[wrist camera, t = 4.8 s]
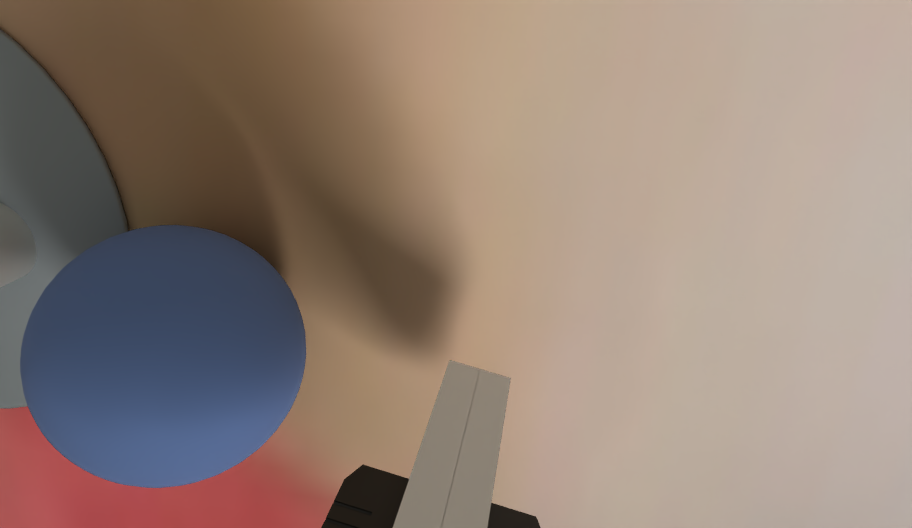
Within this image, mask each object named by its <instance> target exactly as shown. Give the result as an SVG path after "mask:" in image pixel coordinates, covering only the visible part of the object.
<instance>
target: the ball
mask: <svg viewBox="0 0 912 528" xmlns="http://www.w3.org/2000/svg"><path fill="white" fill-rule="evenodd" d="M305 359H306V340H305V329H304V324H303V320H302V316H301V313H300V310H299V307H298V305H297V302H296V300H295V298H294V296H293V294H292V292H291V290H290V288H289V287H288V285H287V284H286V282H285V281H284V279H283V278H282V277H281V275H280V274H279V273H278V272H277V271H276V269H275V268H274V267H273V266H272V265H271V264H270V263H269V262H268V261H266V260H265V259H264V258H263V257H262V256H261V255H259V254H258V253H257V252H255V251H254V250H253V249H251V248H250V247H248V246H246V245H245V244H243V243H241V242H240V241H238V240H236V239H233V238H231V237H229V236H227V235H224V234H221V233H218V232H215V231H213V230H208V229H204V228H199V227H192V226H182V225H160V226H151V227H145V228H139V229H134V230H131V231H128V232H125V233H122V234H119V235H116V236H113V237H110V238H108V239H106V240H104V241H102V242H100V243H98V244H96V245H94V246H92V247H91V248H89V249H87V250H85V251H84V252H83V253H81V254H80V255H79V256H77V257H76V258H75V259H73V260H72V261H71V262H70V263H68V264H67V265H66V266H65V267H64V268H63V269H62V270H61V271H60V272H59V273H58V274H57V275H56V276H55V277H54V279H53V280H52V281H51V282H50V283H49V284H48V286H47V287H46V288H45V290H44V291H43V293H42V294H41V296H40V298H39V299H38V301H37V303H36V305H35V306H34V308H33V310H32V312H31V315H30V317H29V320H28V323H27V326H26V329H25V332H24V335H23V341H22V346H21V357H20V373H21V380H22V386H23V392H24V396H25V399H26V403H27V405H28V408H29V410H30V412H31V414H32V416H33V418H34V420H35V422H36V424H37V426H38V427H39V429H40V431H41V432H42V433H43V435H44V436H45V437H46V439H47V440H48V441H49V442H50V443H51V444H52V445H53V447H54V448H55V449H56V450H57V451H59V452H60V453H61V454H62V455H63V456H64V457H66V458H67V459H68V460H70V461H71V462H72V463H74V464H75V465H77V466H78V467H80V468H82V469H83V470H85V471H87V472H89V473H91V474H93V475H95V476H98V477H100V478H103V479H105V480H108V481H111V482H115V483H119V484H123V485H129V486H138V487H146V488H162V487H173V486H181V485H186V484H191V483H195V482H198V481H201V480H204V479H207V478H210V477H213V476H216V475H218V474H220V473H222V472H224V471H226V470H228V469H230V468H231V467H233V466H235V465H237V464H239V463H240V462H242V461H243V460H245V459H246V458H247V457H249V456H250V455H251V454H253V453H254V452H255V451H256V450H258V449H259V448H260V447H261V446H262V445H263V444H264V443H265V442H266V441H267V440H268V439H269V438H270V437H271V436H272V435H273V433H274V432H275V431H276V430H277V429H278V427H279V426H280V424H281V423H282V422H283V420H284V419H285V417H286V415H287V414H288V412H289V411H290V409H291V407H292V405H293V403H294V400H295V398H296V396H297V393H298V391H299V388H300V385H301V381H302V377H303V373H304V368H305Z"/></svg>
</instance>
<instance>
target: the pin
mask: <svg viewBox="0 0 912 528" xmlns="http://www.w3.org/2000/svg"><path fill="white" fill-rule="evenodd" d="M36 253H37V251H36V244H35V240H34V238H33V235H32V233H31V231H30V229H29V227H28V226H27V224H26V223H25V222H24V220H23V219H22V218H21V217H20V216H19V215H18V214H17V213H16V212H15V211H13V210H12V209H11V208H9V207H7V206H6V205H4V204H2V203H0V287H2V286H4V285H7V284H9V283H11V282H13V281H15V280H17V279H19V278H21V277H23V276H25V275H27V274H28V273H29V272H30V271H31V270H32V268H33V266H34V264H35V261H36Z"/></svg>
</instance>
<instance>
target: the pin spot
mask: <svg viewBox="0 0 912 528" xmlns="http://www.w3.org/2000/svg"><path fill="white" fill-rule="evenodd" d="M0 203H2V204H4V205H6V206H7V207H9V208H11V209H12V210H13V211H15V212H16V213H17V214H18V215H19V216H20V217H21V218H22V219H23V220H24V222H25V223H26V224H27V226H28V227H29V229H30V231H31V233H32V235H33V238H34V240H35V244H36V251H37V253H36V261H35V264H34V266H33V268H32V270H31V271H30V272H29V273H28V274H27V275H25V276H23V277H21V278H19V279H17V280H15V281H13V282H11V283H9V284H7V285H4V286H2V287H0V408H17V407H25V406H28V405H27V403H26V399H25V396H24V392H23V386H22V380H21V373H20V357H21V346H22V341H23V335H24V332H25V329H26V326H27V323H28V320H29V317H30V315H31V312H32V310H33V308H34V306H35V305H36V303H37V301H38V299H39V298H40V296H41V294H42V293H43V291H44V290H45V288H46V287H47V286H48V284H49V283H50V282H51V281H52V280H53V279H54V277H55V276H56V275H57V274H58V273H59V272H60V271H61V270H62V269H63V268H64V267H65V266H66V265H67V264H68V263H70V262H71V261H72V260H73V259H75V258H76V257H77V256H79V255H80V254H81V253H83V252H84V251H85V250H87V249H89V248H91V247H92V246H94V245H96V244H98V243H100V242H102V241H104V240H106V239H108V238H110V237H113V236H116V235H119V234H122V233H125V232H128V226H127V220H126V216H125V213H124V210H123V206H122V203H121V199H120V196H119V192H118V189H117V187H116V184H115V182H114V179H113V177H112V175H111V172H110V170H109V167H108V165H107V163H106V160H105V158H104V156H103V154H102V152H101V150H100V149H99V147H98V145H97V143H96V141H95V139H94V137H93V136H92V134H91V132H90V130H89V128H88V127H87V125H86V124H85V122H84V121H83V119H82V118H81V116H80V115H79V113H78V112H77V110H76V109H75V107H74V106H73V104H72V103H71V101H70V100H69V99H68V97H67V96H66V95H65V94H64V92H63V91H62V90H61V89H60V88H59V86H58V85H57V84H56V83H55V81H54V80H53V79H52V78H51V77H50V75H49V74H48V73H47V72H46V71H45V69H44V68H43V67H42V66H41V65H40V64H39V63H38V62H37V61H36V60H35V59H33V58H32V57H31V56H30V55H29V54H28V53H27V52H26V51H25V50H24V49H23V48H22V47H21V46H20V45H19V44H18V43H17V42H16V41H15V40H13V39H12V38H11V37H10V36H9V35H7V34H6V33H5V32H4V31H2V30H1V29H0Z"/></svg>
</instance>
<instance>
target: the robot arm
mask: <svg viewBox="0 0 912 528" xmlns="http://www.w3.org/2000/svg"><path fill="white" fill-rule="evenodd" d="M510 379H511V378H509V377H505V376H502V375H499V374H495V373H492V372H489V371H485V370H482V369H479V368H475V367H472V366H469V365H465V364H462V363H459V362H455V361H452V360H449V363H448V366H447V369H446V372H445V375H444V378H443V381H442V384H441V387H440V390H439V393H438V396H437V399H436V402H435V405H434V408H433V411H432V413H431V416H430V419H429V422H428V425H427V428H426V431H425V434H424V437H423V440H422V443H421V446H420V449H419V452H418V455H417V458H416V461H415V464H414V466H413V469H412V472H411V475H410V478H409V479H408V478H404V477H401V476H398V475H395V474H391V473H388V472H385V471H382V470H379V469H375V468H372V467H369V466H366V465H362V466H361V467H359V468H358V469H357V470H356V471H354V472H353V473H352V474H351V475H349V476H348V477H347V478H346V479H344V481H343V483H342V486H341V488H340V490H339V492H338V494H337V496H336V498H335V500H334V503H333V504H332V506H331V509H330V511H329V513H328V515H327V517H326V520H325V522H324V523H323V525H322V527H321V528H540V525H539V523H538V520H537V518H536V517H535V516H532V515H529V514H526V513H522V512H519V511H516V510H513V509H509V508H506V507H503V506H500V505H497V504H493V503H491V501H492V494H493V488H494V482H495V475H496V469H497V462H498V456H499V450H500V443H501V437H502V430H503V424H504V418H505V411H506V405H507V398H508V392H509V386H510Z"/></svg>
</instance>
